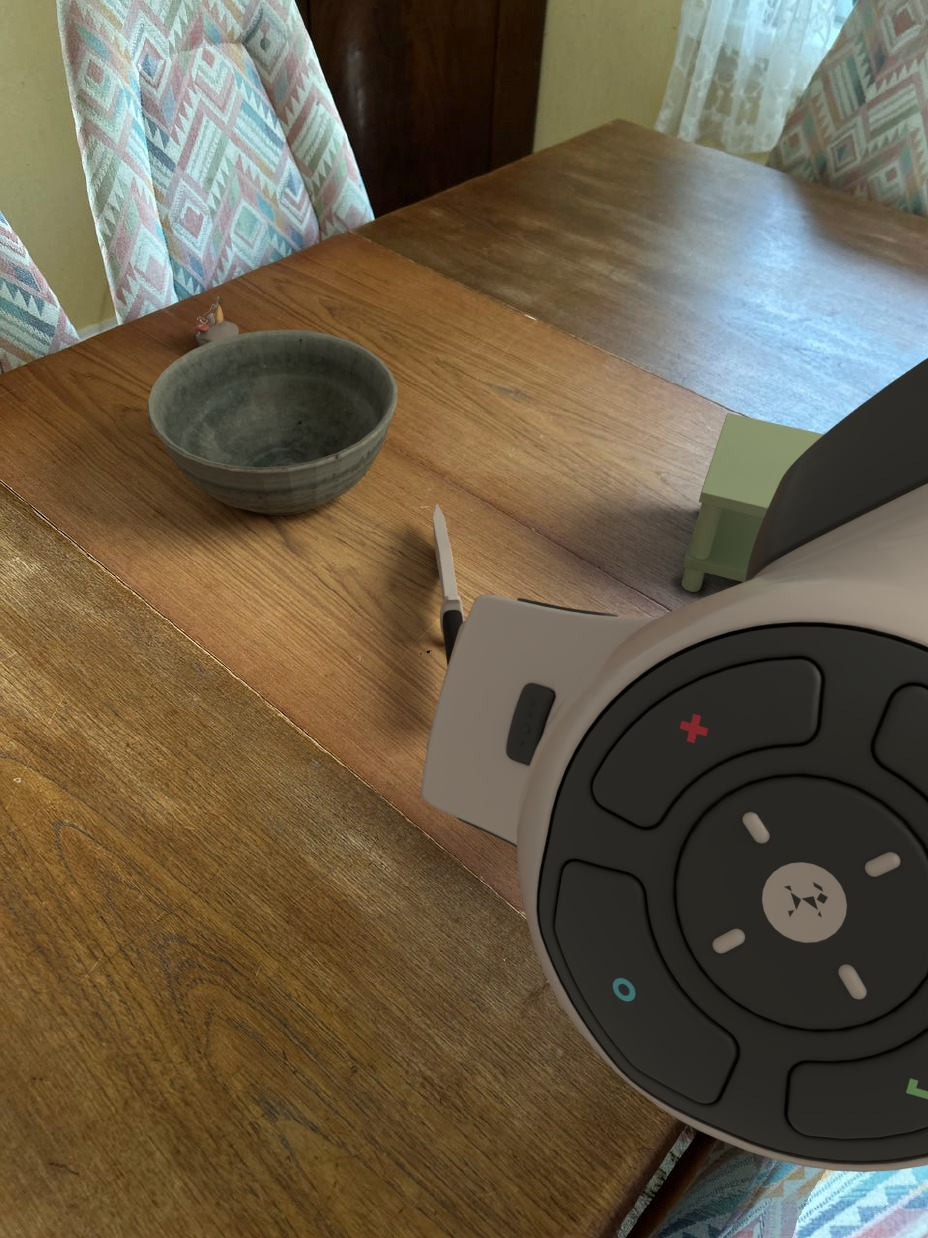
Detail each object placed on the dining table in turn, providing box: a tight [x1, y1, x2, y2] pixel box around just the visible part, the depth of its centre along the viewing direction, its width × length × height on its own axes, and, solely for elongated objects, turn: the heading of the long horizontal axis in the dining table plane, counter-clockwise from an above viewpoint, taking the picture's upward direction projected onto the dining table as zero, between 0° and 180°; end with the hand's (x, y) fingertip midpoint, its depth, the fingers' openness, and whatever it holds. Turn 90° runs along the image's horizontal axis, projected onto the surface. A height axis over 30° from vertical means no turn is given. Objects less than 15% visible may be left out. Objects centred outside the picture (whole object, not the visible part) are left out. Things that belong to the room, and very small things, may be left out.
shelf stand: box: [681, 412, 825, 593], centre depth 86 cm, size 14×12×10 cm
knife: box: [432, 503, 465, 668], centre depth 81 cm, size 25×2×5 cm, turn 5°
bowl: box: [147, 329, 399, 516], centre depth 91 cm, size 21×21×10 cm
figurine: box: [195, 294, 240, 347], centre depth 109 cm, size 5×4×6 cm
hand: (724, 752), depth 42 cm, fingers open, 8 cm apart
